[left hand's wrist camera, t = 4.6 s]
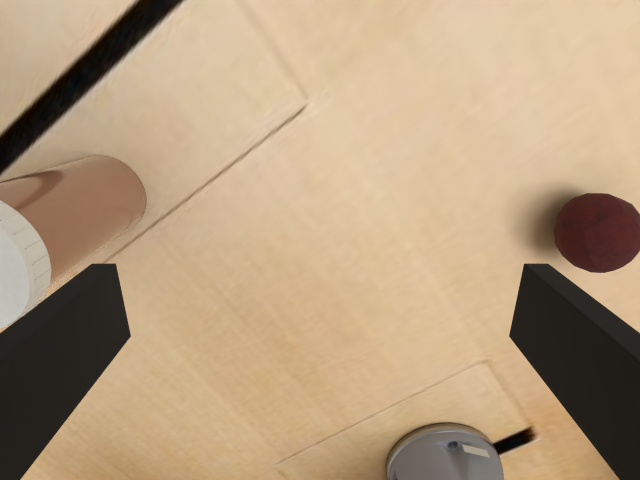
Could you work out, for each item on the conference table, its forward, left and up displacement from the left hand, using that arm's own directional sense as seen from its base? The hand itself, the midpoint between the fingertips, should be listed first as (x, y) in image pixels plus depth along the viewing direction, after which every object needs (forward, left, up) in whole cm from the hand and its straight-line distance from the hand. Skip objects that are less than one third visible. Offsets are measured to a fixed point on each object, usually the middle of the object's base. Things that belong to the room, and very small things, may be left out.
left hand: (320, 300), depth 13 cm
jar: (+4, -22, -28) cm, 36 cm away
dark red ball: (+6, +27, -28) cm, 39 cm away
